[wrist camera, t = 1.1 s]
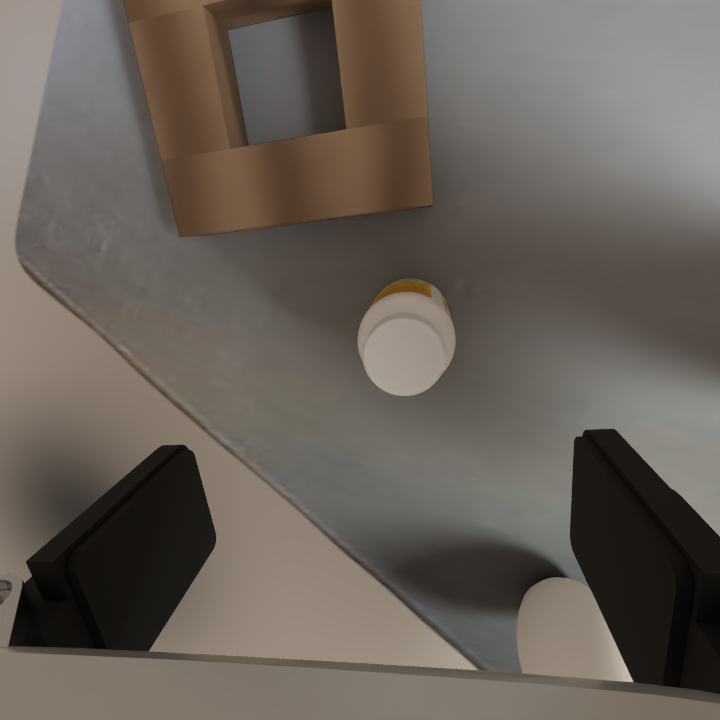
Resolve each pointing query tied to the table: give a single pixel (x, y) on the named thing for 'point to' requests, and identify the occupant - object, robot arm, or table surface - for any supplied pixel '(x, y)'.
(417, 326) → the supplement bottle
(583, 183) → the table surface
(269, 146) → the bore block
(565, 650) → the white air blower bulb
